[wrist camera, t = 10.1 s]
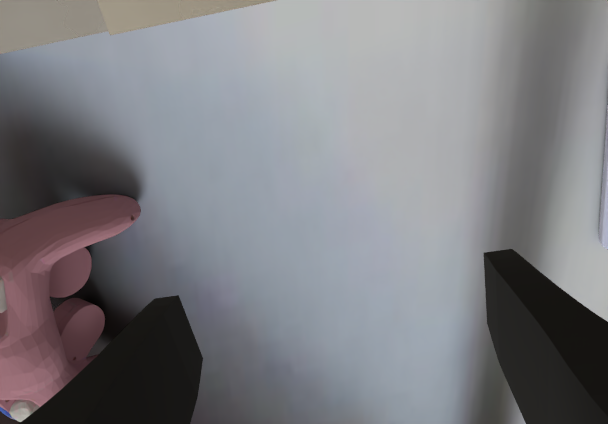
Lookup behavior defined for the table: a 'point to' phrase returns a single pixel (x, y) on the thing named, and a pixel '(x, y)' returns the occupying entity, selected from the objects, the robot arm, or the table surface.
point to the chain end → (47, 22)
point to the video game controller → (56, 283)
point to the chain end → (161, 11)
